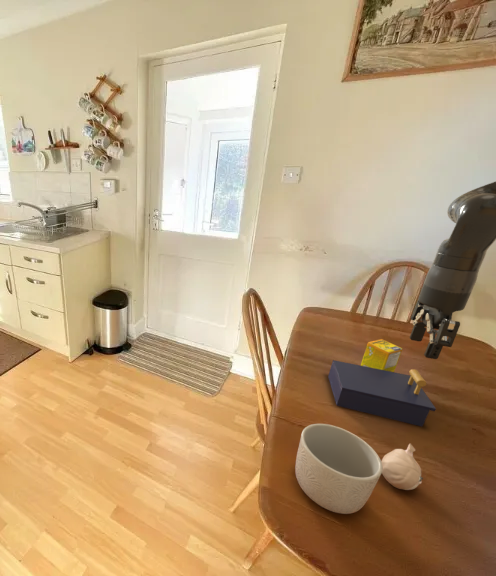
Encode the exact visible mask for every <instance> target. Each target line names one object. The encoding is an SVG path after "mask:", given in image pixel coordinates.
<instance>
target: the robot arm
mask: <svg viewBox="0 0 496 576" xmlns="http://www.w3.org/2000/svg"><path fill="white" fill-rule="evenodd" d="M446 212H447V216H448V219H449V220H450V221H451V222H452V223H455V225H454V227H453V230H452V232H451V234H450V235H449V237H448V238H446V239H444V240H442V241H441V243H440V245H439V246H438V248H437V251H436V254H435V256H434V259H433V262H432V264H431V266H430V267H429V270H428V271H427V274H426V276H425V278H424V282H423V285H422V287H421V289H420V292H419V295H418V297H417V302H416V304H415V305H414V309H413V310H412V314H411V316H410V320H411V321H412V326H413V327H412V329H411V332H410V335H409V339H410V340H411V341H413V342H422V341H423V339H424V336H425V334H426V333H427V334H429V342H428V344H427V346H426V348H425V351H424V354H423V355H424V357H425V358H427V359H432V360H438V359H439V357H440V355H441V352H442V350H443V348H444V347H447V348H452V347H453V344H454V342H455V340H456V336H457V334H458V332H459V329H460V326H461V322H460V321H458V320H453V313H455V312H460V311H463V310H465V308H466V306H467V303H468V302H469V299H470V297H471V294H472V292H473V290H474V287H475V285H476V283H477V280H478V275H479V272H480V269H481V266H482V265H483V262H484V260H485V257H486V255H487V252H488V250H489V248H490V247H491V246H492V245H493V244H494V243H495V241H496V181H493V182H490V183H488V184H484V185H482V186H479V187H477V188H474V189H471V190H469V191H467V192H465V193H462V194H461V195H459V196H458V197H456V198H455V199H454V200H453V201H452V202H451V203H450V204H449V206H448V208H447V211H446Z"/></svg>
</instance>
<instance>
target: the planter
mask: <svg viewBox="0 0 496 576" xmlns="http://www.w3.org/2000/svg"><path fill="white" fill-rule="evenodd" d="M381 461H382V459H381V458H380V456H379V455H378V453H377V452H376V450H375V449H374V448H373V447H372V446H371V445H370V444H369V443H368V442H367V441H365V440H364V439H362V438H361V437H359V436H358V435H356V434H354V433H353V432H351V431H349V430H347V429H344V428H342V427H339V426H337V425H332V424H329V423H312V424H309V425H307V426H306V427H304V428H303V429H302V432H301V435H300V440H299V444H298V449H297V452H296V459H295V467H294V469H295V477H296V480H297V483H298V484H299V486H300V488H301V489H302V491H303V493H304V494H305V495H306V496H307V497H309V499H310V500H312V502H313V503H315V504H317V505H318V506H320V507H321V508H324V510H327V511H330V512H331V513H332V512H333V513H336V514H340V515H341V514H342V515H350V514H353V513H357V512H358V511H360V510H361V509H362V508H363V507H364V506H365V505H366V504H367V501H368V500H369V499H370V497H371V495H372V494H373V492H374V489H375V488H376V486H377V483H378V481H379V479H380V478H381V475H382V470H383V466H382V462H381Z"/></svg>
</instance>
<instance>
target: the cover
mask: <svg viewBox="0 0 496 576" xmlns="http://www.w3.org/2000/svg"><path fill="white" fill-rule="evenodd" d="M332 363H333V366H334V369H335V372H336V375H337V378H338V381H339V384H340V387H341V390H344V391H348V392H353V393H357V394H361V395H366V396H370V397H374V398H379V399H383V400H387V401H392V402H396V403H401V404H405V405H409V406H414V407H418V408H422V409H427V410H430V411H432V412H436V410H437V408H436V407H435V405H434V404H433V402H432V401H431V400H430V398H429V396H428V395H427V393H426V392H425V391H424V389H423V388H422V387H425V386H427V385H428V384H427V381H426V380H425V379H424V377H423V376H422V375H421V373H420V372H419V370H418V369H415V368H412V369H409V371H408V374H404V373H399V372H395V371H394V372H390V371H385V370H380V369H375V368H370V367H365V366H361V364H360V365H359V364H355V363H350V362H346V361H345V362H344V361H340V360H334V359H333V360H332V362H331V364H332Z"/></svg>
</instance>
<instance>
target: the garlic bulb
mask: <svg viewBox="0 0 496 576" xmlns="http://www.w3.org/2000/svg"><path fill="white" fill-rule="evenodd" d="M416 450H417V449H416V448H415V447H414V446H413V444H412V443H409V444H408V445H407V448H406V449H403V448H394V449H393V450H392V451H389V452H388V453H386V454H385V455H384V456H383V457H382V459H381V462H382V466H383V470H382V473H381V475H382V476H383V478H384V479H385V480H386V481H387V482H388V483H389V484H390V485H391V486H392V487H394V488H396V489H399V490H405V491H411V490H414V489H416V488H418V487H419V486H420V485H421V484H422V482H423V481H422V480H424V477H422V468H421V465H420V464H419V463H418V462H417V460H416V459H415V457H414V452H416Z"/></svg>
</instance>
